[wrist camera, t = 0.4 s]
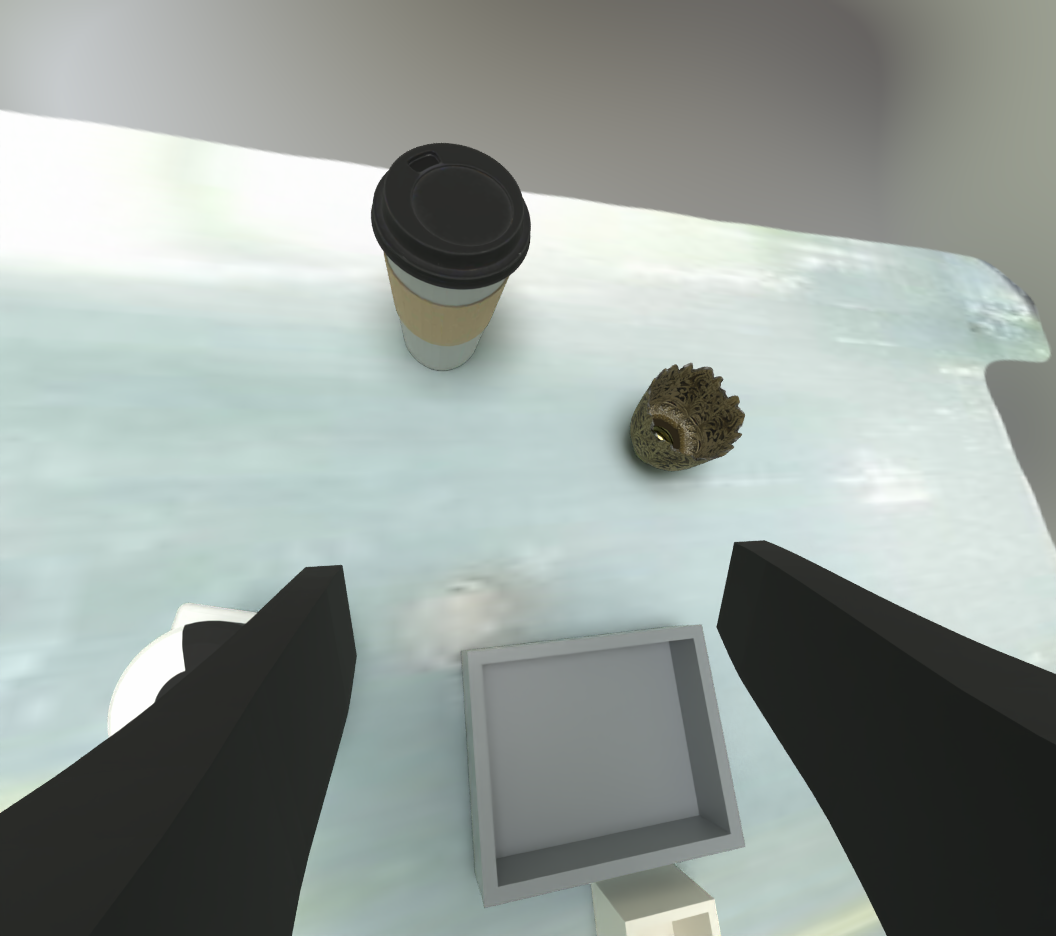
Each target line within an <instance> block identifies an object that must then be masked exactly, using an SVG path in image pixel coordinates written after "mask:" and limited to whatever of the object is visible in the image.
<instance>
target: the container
mask: <svg viewBox="0 0 1056 936" xmlns="http://www.w3.org/2000/svg"><path fill="white" fill-rule="evenodd" d="M256 614H257V612H250V611H243V610H236V609H229V608H222V607H215V606H208V605H201V604H194V603H185V604H183V605H181V606H180V607H179V609H178V611H177V613H176V616H175V619H174V622H173V625H172V627H171V630H170V631H169V632H167V633H165V634H163V635H162V636H160V637H159V638H157V639H156V640H154V641H153V642H151V643H150V644H149V645H148V646H146V647H145V648H144V649H143V650H142V651H141V652H140V653H139V654H138V655H137V656H136V657H135V658H134V659H133V660H132V661H131V663H130V664H129V665H128V667H127V668H126V669H125V671H124V672H123V674H122V676H121V678H120V679H119V681H118V683H117V685H116V687H115V690H114V692H113V695H112V698H111V702H110V706H109V711H108V720H107V722H108V736H109V737H110V736H112V735H113V734H115V733H116V732H117V731H119V730H120V729H121V728H123V727H124V726H125V725H126V724H128V723H129V722H130V721H132V720H133V719H134V718H136V717H137V716H138V715H139V714H141V713H142V712H143V711H144V710H146V709H147V708H148V707H150V706H151V705H152V704H153V703H155V702H156V701H157V700H158V699H160V698H161V697H162V696H163V695H164V694H165V693H167V692H168V691H169V690H170V689H171V688H173V687H174V686H175V685H176V684H177V683H178V682H180V681H181V680H182V679H183V678H184V677H186V676H187V675H188V674H189V673H190V672H191V671H193V670H194V669H195V668H196V667H197V666H199V665H200V664H201V663H202V662H203V661H204V660H206V659H207V658H208V657H209V656H210V655H212V654H213V653H214V652H215V651H216V650H217V649H219V648H220V647H221V646H222V645H223V644H224V643H225V642H226V641H227V640H228V639H230V638H231V637H232V636H233V635H234V634H235V633H236V632H237V631H238V630H239V629H240V628H241V627H243V626H244V625H245V624H246V623H247V622H248V621H249V620H250V619H251V618H252V617H253V616H254V615H256Z"/></svg>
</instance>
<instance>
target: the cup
mask: <svg viewBox="0 0 1056 936" xmlns="http://www.w3.org/2000/svg"><path fill="white" fill-rule="evenodd" d="M722 381H723V378H722V377H720V376H718V377H715V378H714V373H713V369H712V368H711V367H701V368H698V369H693V363H689V364H687V365H684V366H683V368H681V369H680V370H679V369H678V366H677V365H676V364H675V365H673V366H672V367H671V368H669V369H666V368H665V369H664V370H663V371H662V372H661V373H660V374H659V375H658V376H657V377H656V378H654V379H653V381H652V383H651V385H650V386H649V388H648V390H647V391H646V393H645V394H644V396H643V397H642V399H641V400H640V402H639V404H638V406H637V407H636V409H635V411H634V414H633V417H632V420H631V425H630V435H631V440H632V443H633V449H634V452H635V454H636V455H637V457H638V458H639V459H640V460H641V461H643V462H644V463H646V464H649V465H652V466H653V467H656V468H658V469H662V470H667V471H678V470H684V469H688V468H692V467H694V466H697V465H700V464H703V463H705V462H708V461H710V460H713V459H716V458H719V457H722V456H724V455H726V454H727V453H728V452H729V451H730V450H732V449H733V448H734V446H733V445H732V443H734V442H735V441H737V440H738V439H739V438H740V437H741V435H742V434H741V433H738V430H739V428H740V427H741V426H742V424H743V421H744V417H745V414H744V412H743V411H742V410H741V409H740V408H739V407H738V404H739V403H740V401H739V397H738V396H731V397H729V398H728V397H727V395H726V391H725V390H723V389H722V388H720V386H721V382H722Z"/></svg>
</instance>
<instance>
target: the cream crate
mask: <svg viewBox="0 0 1056 936" xmlns="http://www.w3.org/2000/svg"><path fill="white" fill-rule="evenodd" d="M591 890H592V899H593V907H594V916H595V924H596V932H597V936H721V933H720V927H719V922H718V916H717V910H716V905H715V899H714V898H713V897H711V896H710V895H709V894H708V893H707V892H706V891H704V890H703V889H702V888H701V887H700V886H699V885H697V884H696V883H695V882H694V881H693V880H692V879H690V878H689V877H688V876H687V875H686V874H684V873H683V872H682V871H681V870H680V869H679V868H677V867H676V866H675V865H674V864H670V865H666V866H662V867H657V868H653V869H649V870H645V871H640V872H636V873H632V874H627V875H623V876H619V877H615V878H610V879H606V880H602V881H598V882H593V883H591Z"/></svg>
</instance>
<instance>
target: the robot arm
mask: <svg viewBox="0 0 1056 936" xmlns="http://www.w3.org/2000/svg"><path fill="white" fill-rule="evenodd" d="M717 629H718V632H719V634H720V636H721V639H722V641H723V643H724V645H725V648H726V650H727V652H728V654H729V657H730V659H731V661H732V663H733V665H734V667H735V669H736V671H737V673H738V675H739V677H740V679H741V680H742V682H743V684H744V685H745V687H746V689H747V690H748V692H749V693H750V695H751V697H752V698H753V700H754V701H755V703H756V705H757V706H758V708H759V709H760V711H761V713H762V714H763V716H764V717H765V719H766V721H767V722H768V724H769V725H770V727H771V728H772V730H773V732H774V733H775V735H776V736H777V738H778V740H779V741H780V743H781V744H782V746H783V747H784V749H785V751H786V752H787V754H788V755H789V757H790V758H791V760H792V762H793V763H794V765H795V766H796V768H797V769H798V771H799V773H800V774H801V776H802V777H803V779H804V780H805V782H806V784H807V785H808V787H809V788H810V790H811V791H812V793H813V795H814V796H815V798H816V800H817V802H818V803H819V805H820V807H821V808H822V810H823V812H824V814H825V815H826V817H827V819H828V820H829V822H830V824H831V826H832V828H833V830H834V832H835V834H836V836H837V837H838V839H839V841H840V843H841V845H842V847H843V849H844V851H845V853H846V855H847V857H848V859H849V861H850V863H851V864H852V866H853V868H854V870H855V872H856V874H857V876H858V878H859V880H860V882H861V884H862V886H863V888H864V890H865V892H866V894H867V896H868V898H869V900H870V902H871V904H872V906H873V908H874V910H875V912H876V914H877V916H878V918H879V920H880V923H881V925H882V927H883V929H884V931H885V933H886V935H887V936H1056V674H1054V673H1052V672H1049V671H1047V670H1044V669H1042V668H1039V667H1037V666H1034V665H1032V664H1029V663H1027V662H1024V661H1022V660H1019V659H1017V658H1014V657H1012V656H1009V655H1007V654H1004V653H1002V652H999V651H997V650H995V649H992V648H990V647H988V646H985V645H983V644H981V643H978V642H976V641H974V640H971V639H969V638H967V637H965V636H962V635H960V634H958V633H956V632H954V631H951V630H949V629H947V628H945V627H943V626H941V625H938V624H936V623H934V622H932V621H930V620H928V619H925V618H923V617H921V616H919V615H917V614H915V613H913V612H911V611H909V610H906V609H904V608H902V607H900V606H898V605H896V604H894V603H892V602H890V601H888V600H886V599H884V598H882V597H880V596H878V595H876V594H874V593H872V592H870V591H868V590H866V589H864V588H862V587H860V586H858V585H856V584H854V583H852V582H850V581H848V580H846V579H844V578H842V577H840V576H838V575H837V574H835V573H833V572H831V571H829V570H827V569H825V568H823V567H821V566H819V565H817V564H815V563H813V562H811V561H809V560H807V559H805V558H803V557H801V556H799V555H797V554H795V553H793V552H790V551H788V550H786V549H784V548H782V547H779V546H777V545H775V544H772V543H770V542H767V541H765V540H763V541H746V542H734V546H733V551H732V556H731V561H730V565H729V570H728V575H727V580H726V584H725V589H724V594H723V599H722V604H721V608H720V613H719V618H718V623H717ZM356 657H357V655H356V649H355V642H354V636H353V629H352V623H351V617H350V610H349V604H348V598H347V591H346V585H345V579H344V572H343V566H342V565H334V566H317V567H306V568H304V569H303V570H302V571H301V572H300V573H299V574H298V575H297V576H296V577H294V578H293V579H292V580H291V581H290V582H289V583H288V584H287V585H286V586H285V587H284V588H283V589H282V590H281V591H280V592H279V593H278V594H277V595H276V596H275V597H273V598H272V599H271V600H270V601H269V602H268V603H267V604H266V605H265V606H264V607H263V608H262V609H261V610H260V611H259V612H258V613H257V614H256V615H254V616H253V617H252V618H251V619H250V620H249V621H248V622H247V623H246V624H245V625H244V626H243V627H241V628H240V629H239V630H238V631H237V632H236V633H235V634H234V635H233V636H232V637H231V638H230V639H228V640H227V641H226V642H225V643H224V644H223V645H222V646H221V647H220V648H219V649H217V650H216V651H215V652H214V653H213V654H212V655H210V656H209V657H208V658H207V659H206V660H204V661H203V662H202V663H201V664H200V665H199V666H197V667H196V668H195V669H194V670H193V671H191V672H190V673H189V674H188V675H187V676H186V677H184V678H183V679H182V680H181V681H180V682H178V683H177V684H176V685H175V686H174V687H173V688H171V689H170V690H169V691H168V692H167V693H165V694H164V695H163V696H162V697H161V698H160V699H158V700H157V701H156V702H155V703H153V704H152V705H151V706H150V707H148V708H147V709H146V710H144V711H143V712H142V713H141V714H139V715H138V716H137V717H136V718H134V719H133V720H132V721H130V722H129V723H128V724H126V725H125V726H124V727H123V728H121V729H120V730H119V731H117V732H116V733H115V734H113V735H112V736H110V737H109V738H108V739H106V740H105V741H104V742H102V743H101V744H100V745H98V746H97V747H95V748H94V749H93V750H91V751H90V752H89V753H87V754H86V755H85V756H83V757H82V758H80V759H79V760H78V761H76V762H75V763H74V764H72V765H71V766H69V767H68V768H67V769H65V770H64V771H62V772H61V773H59V774H58V775H57V776H55V777H54V778H52V779H51V780H49V781H48V782H46V783H45V784H43V785H42V786H40V787H39V788H37V789H36V790H34V791H33V792H31V793H30V794H28V795H27V796H25V797H24V798H22V799H21V800H19V801H18V802H16V803H15V804H13V805H12V806H10V807H9V808H7V809H6V810H4V811H3V812H1V813H0V936H292V932H293V927H294V921H295V916H296V911H297V905H298V900H299V895H300V890H301V886H302V882H303V877H304V873H305V869H306V865H307V861H308V856H309V853H310V849H311V845H312V842H313V838H314V835H315V831H316V827H317V824H318V820H319V817H320V813H321V809H322V806H323V802H324V799H325V795H326V791H327V788H328V784H329V781H330V777H331V773H332V770H333V766H334V763H335V759H336V755H337V752H338V748H339V744H340V741H341V737H342V733H343V730H344V726H345V722H346V718H347V714H348V710H349V704H350V698H351V691H352V685H353V678H354V671H355V664H356Z"/></svg>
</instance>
